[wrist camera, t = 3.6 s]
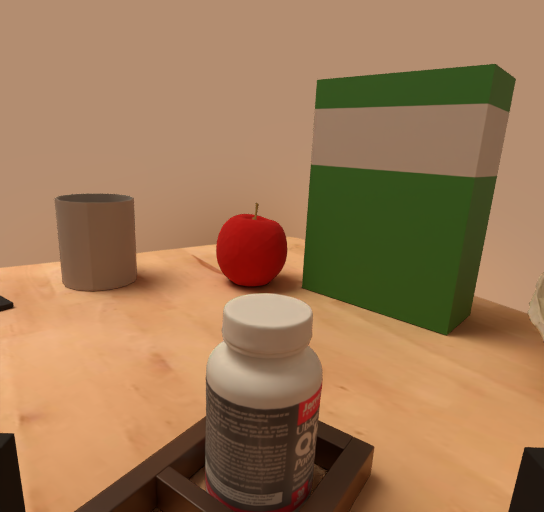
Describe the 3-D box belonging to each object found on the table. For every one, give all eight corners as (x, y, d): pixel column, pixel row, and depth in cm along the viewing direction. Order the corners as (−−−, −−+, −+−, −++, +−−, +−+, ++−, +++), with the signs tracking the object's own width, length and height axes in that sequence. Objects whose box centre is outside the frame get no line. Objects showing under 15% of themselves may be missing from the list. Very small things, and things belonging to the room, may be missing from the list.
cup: (95, 266, 54) (89, 192, 51) (149, 273, 52) (146, 196, 49) (46, 285, 46) (37, 199, 43) (108, 294, 44) (102, 205, 41)
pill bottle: (318, 538, 18) (338, 337, 15) (196, 535, 17) (196, 332, 15) (306, 449, 23) (319, 289, 20) (212, 446, 23) (214, 284, 20)
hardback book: (301, 287, 49) (317, 79, 43) (334, 275, 55) (352, 89, 49) (446, 335, 38) (495, 64, 32) (470, 314, 44) (515, 78, 37)
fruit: (299, 287, 50) (305, 207, 47) (234, 298, 45) (237, 210, 42) (262, 267, 57) (265, 197, 54) (203, 275, 52) (203, 199, 50)
